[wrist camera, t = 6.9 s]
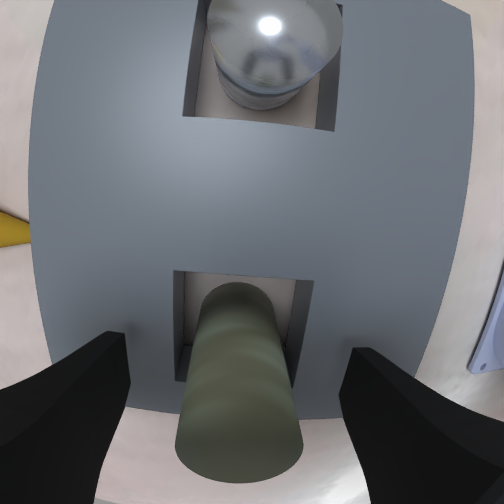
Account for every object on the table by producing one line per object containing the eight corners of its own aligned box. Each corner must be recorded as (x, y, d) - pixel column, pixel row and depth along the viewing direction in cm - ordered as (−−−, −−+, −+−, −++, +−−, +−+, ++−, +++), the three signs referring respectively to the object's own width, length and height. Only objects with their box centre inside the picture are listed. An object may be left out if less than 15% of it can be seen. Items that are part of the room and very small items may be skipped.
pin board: (438, 30, 10) (470, 14, 7) (380, 379, 15) (398, 411, 12) (89, -9, 9) (65, -33, 6) (80, 360, 14) (60, 392, 11)
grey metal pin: (304, 41, 10) (344, -18, 5) (298, 114, 11) (339, 90, 6) (223, 32, 10) (216, -36, 5) (214, 106, 11) (198, 73, 6)
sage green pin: (279, 286, 13) (317, 412, 6) (267, 348, 14) (289, 483, 7) (202, 278, 13) (173, 403, 6) (198, 342, 14) (176, 477, 7)
